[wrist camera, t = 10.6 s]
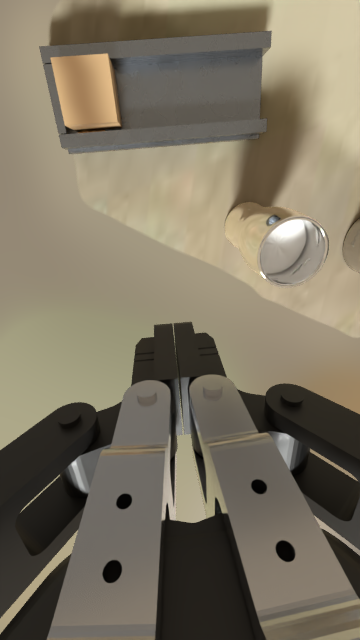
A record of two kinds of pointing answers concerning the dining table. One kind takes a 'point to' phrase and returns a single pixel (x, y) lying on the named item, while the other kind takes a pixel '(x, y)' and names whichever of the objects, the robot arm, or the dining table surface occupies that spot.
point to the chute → (173, 91)
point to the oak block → (87, 92)
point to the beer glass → (278, 242)
